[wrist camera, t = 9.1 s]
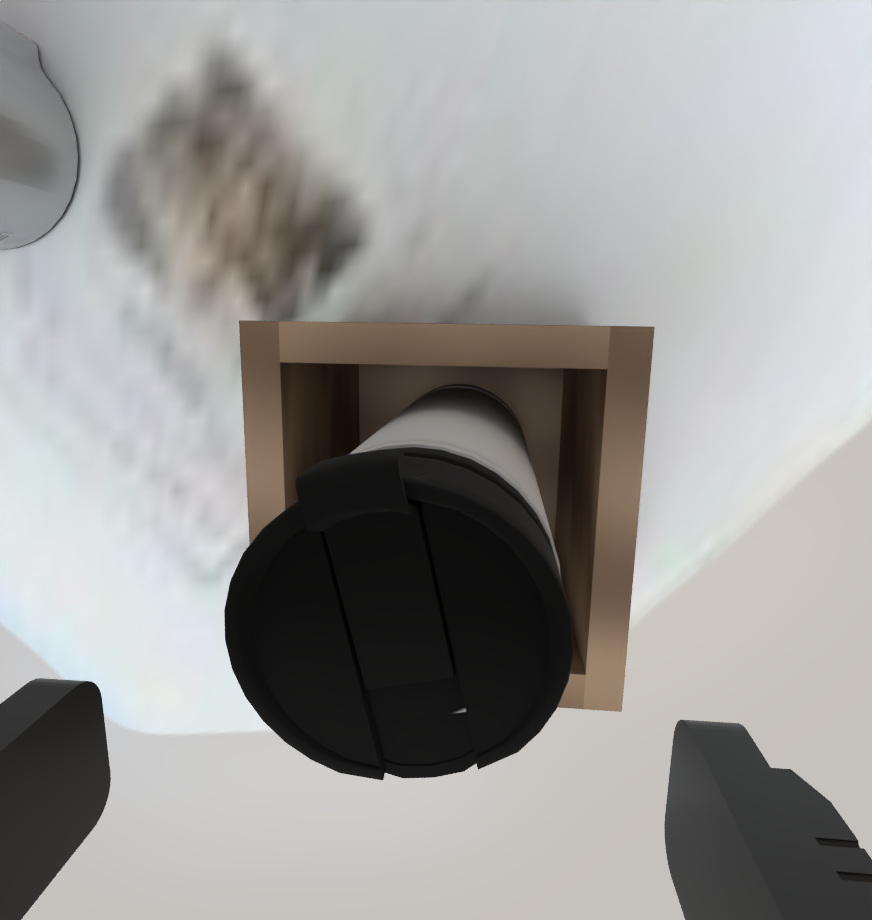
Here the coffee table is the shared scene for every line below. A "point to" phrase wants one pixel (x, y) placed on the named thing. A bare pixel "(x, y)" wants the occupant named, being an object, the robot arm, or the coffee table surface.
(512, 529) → the travel mug
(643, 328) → the wooden box
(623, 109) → the coffee table surface
